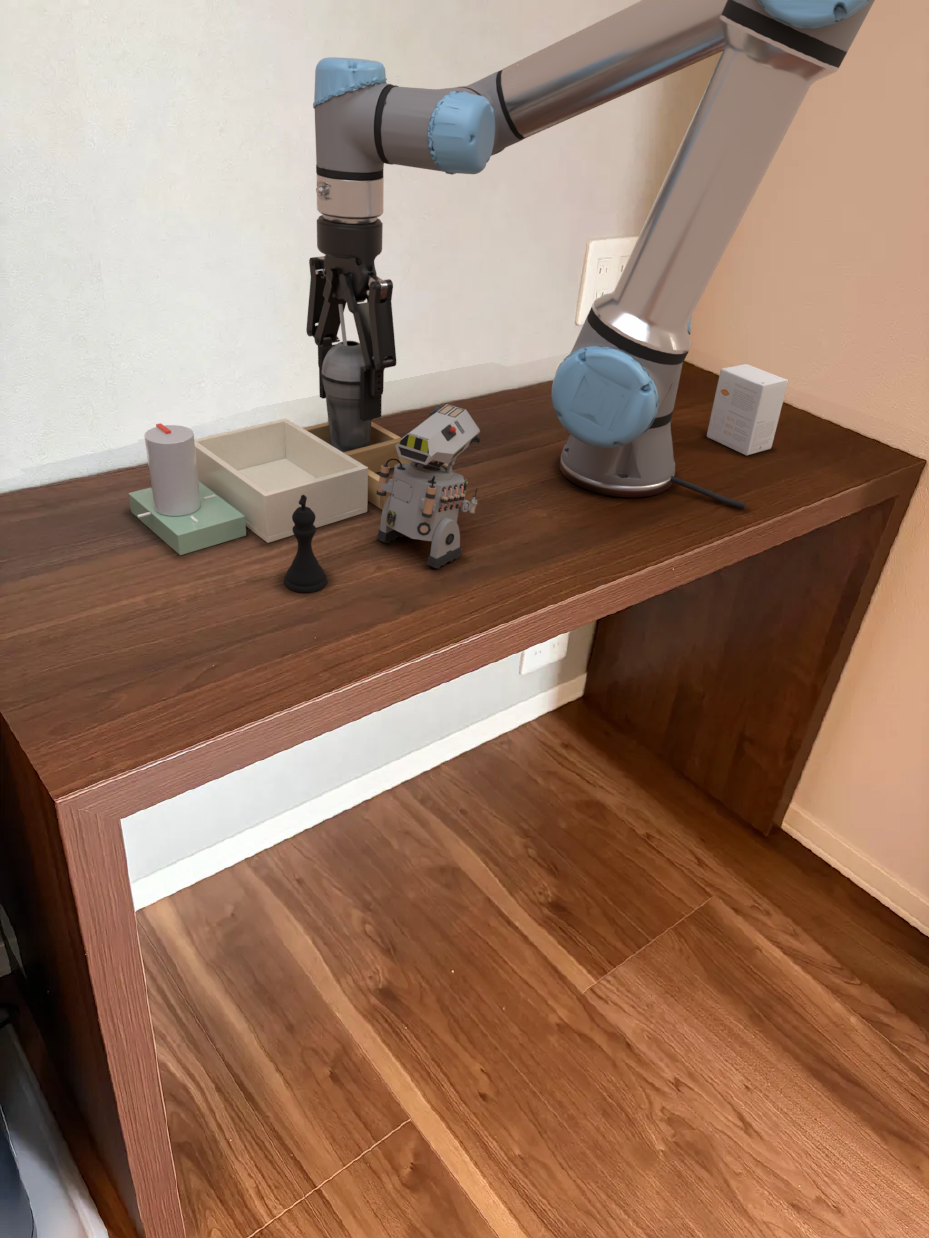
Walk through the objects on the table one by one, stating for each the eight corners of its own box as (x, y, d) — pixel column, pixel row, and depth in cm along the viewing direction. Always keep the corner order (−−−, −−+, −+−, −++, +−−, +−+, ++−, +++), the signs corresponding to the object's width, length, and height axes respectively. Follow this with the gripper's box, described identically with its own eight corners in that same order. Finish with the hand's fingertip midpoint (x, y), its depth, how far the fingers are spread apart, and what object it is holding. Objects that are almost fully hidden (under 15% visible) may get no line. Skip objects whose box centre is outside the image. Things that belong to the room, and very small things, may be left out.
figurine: (494, 542, 105) (506, 417, 97) (425, 576, 98) (432, 445, 89) (435, 514, 110) (442, 393, 102) (366, 545, 102) (367, 417, 94)
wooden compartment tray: (450, 490, 116) (451, 465, 114) (384, 511, 110) (385, 485, 108) (358, 438, 127) (359, 414, 125) (295, 454, 121) (294, 429, 119)
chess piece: (278, 589, 94) (273, 501, 88) (292, 568, 97) (288, 482, 92) (319, 596, 93) (318, 507, 88) (332, 574, 97) (331, 488, 91)
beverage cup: (368, 474, 118) (370, 317, 107) (314, 466, 119) (310, 309, 108) (384, 453, 124) (387, 301, 113) (332, 445, 125) (330, 294, 114)
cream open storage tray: (367, 512, 109) (368, 467, 106) (267, 543, 101) (264, 496, 98) (287, 460, 120) (286, 418, 117) (191, 485, 112) (187, 440, 109)
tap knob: (209, 509, 102) (201, 434, 97) (166, 520, 99) (157, 444, 94) (187, 492, 105) (179, 418, 100) (146, 503, 102) (135, 428, 97)
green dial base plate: (246, 535, 102) (245, 514, 101) (166, 560, 97) (163, 538, 95) (195, 495, 110) (193, 475, 108) (117, 516, 104) (114, 494, 103)
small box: (771, 450, 134) (790, 380, 128) (745, 456, 131) (764, 385, 126) (730, 430, 140) (746, 362, 134) (704, 436, 137) (720, 367, 131)
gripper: (272, 201, 109) (280, 387, 121) (378, 238, 96) (375, 441, 109) (325, 198, 113) (327, 377, 126) (433, 232, 100) (424, 428, 113)
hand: (349, 406), depth 117 cm, fingers open, 8 cm apart
